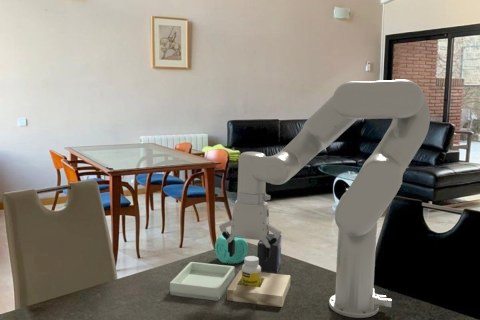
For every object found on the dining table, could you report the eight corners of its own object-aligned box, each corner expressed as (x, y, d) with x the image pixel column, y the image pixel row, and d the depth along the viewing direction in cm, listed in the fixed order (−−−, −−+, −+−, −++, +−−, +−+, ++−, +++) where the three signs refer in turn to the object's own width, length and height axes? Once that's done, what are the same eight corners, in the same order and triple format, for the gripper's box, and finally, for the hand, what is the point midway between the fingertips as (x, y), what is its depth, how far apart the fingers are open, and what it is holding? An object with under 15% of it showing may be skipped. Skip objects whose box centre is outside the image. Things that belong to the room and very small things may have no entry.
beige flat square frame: (290, 285, 137) (290, 275, 136) (282, 307, 123) (282, 296, 123) (240, 279, 140) (240, 270, 140) (226, 300, 127) (226, 289, 126)
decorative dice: (233, 253, 162) (233, 231, 161) (248, 260, 156) (248, 237, 155) (214, 258, 157) (214, 235, 156) (229, 266, 151) (229, 242, 150)
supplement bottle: (239, 294, 130) (239, 260, 129) (243, 286, 136) (244, 253, 134) (258, 296, 129) (259, 262, 128) (262, 288, 134) (262, 255, 133)
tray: (234, 277, 142) (234, 266, 141) (218, 300, 127) (218, 288, 126) (190, 272, 145) (190, 261, 145) (170, 294, 130) (169, 282, 129)
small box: (277, 278, 141) (278, 245, 140) (256, 276, 143) (256, 243, 141) (281, 265, 152) (282, 234, 150) (261, 263, 153) (262, 232, 151)
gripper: (284, 197, 130) (281, 256, 133) (224, 191, 134) (222, 249, 137) (280, 204, 122) (276, 266, 125) (216, 197, 127) (214, 258, 130)
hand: (248, 257), depth 131 cm, fingers open, 9 cm apart
